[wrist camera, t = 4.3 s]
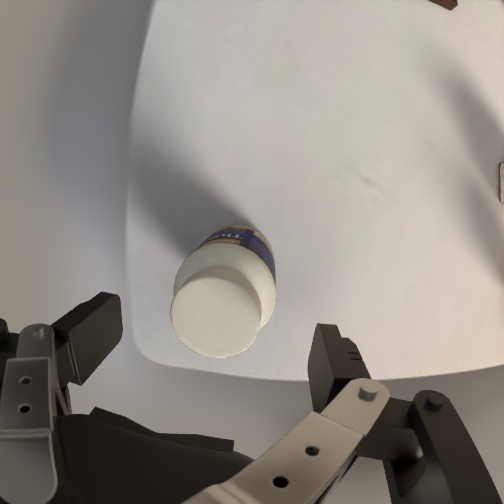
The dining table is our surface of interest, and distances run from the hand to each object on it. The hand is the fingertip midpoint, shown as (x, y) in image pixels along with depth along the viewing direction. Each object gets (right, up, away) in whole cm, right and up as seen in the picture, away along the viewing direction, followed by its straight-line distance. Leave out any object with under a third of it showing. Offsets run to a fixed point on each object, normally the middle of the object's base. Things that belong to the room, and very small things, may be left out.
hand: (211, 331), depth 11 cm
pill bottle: (+1, +3, +11) cm, 11 cm away
